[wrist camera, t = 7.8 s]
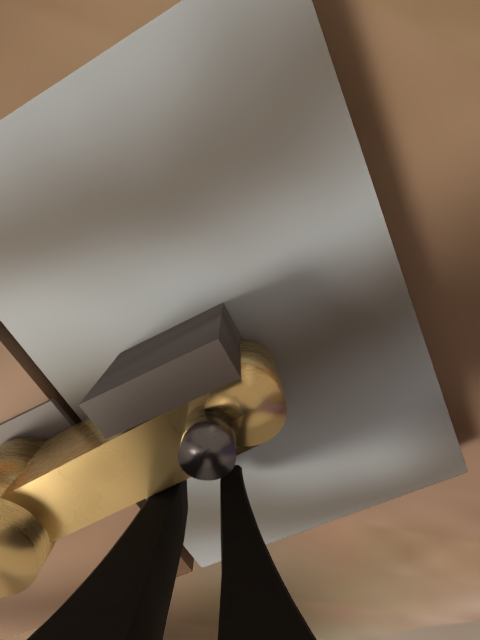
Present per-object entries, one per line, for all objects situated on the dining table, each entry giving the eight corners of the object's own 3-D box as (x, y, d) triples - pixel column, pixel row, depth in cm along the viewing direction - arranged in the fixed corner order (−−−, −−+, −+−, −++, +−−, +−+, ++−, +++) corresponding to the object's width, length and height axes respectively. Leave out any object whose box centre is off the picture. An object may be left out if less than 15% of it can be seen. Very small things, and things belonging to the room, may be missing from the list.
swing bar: (33, 523, 13) (-34, 627, 10) (-34, 463, 12) (-134, 558, 9) (296, 394, 11) (321, 472, 8) (245, 309, 10) (250, 358, 7)
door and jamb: (-338, 365, 12) (-619, 442, 8) (281, -33, 8) (321, -247, 4) (-12, 622, 18) (-84, 742, 14) (449, 450, 14) (533, 546, 10)
